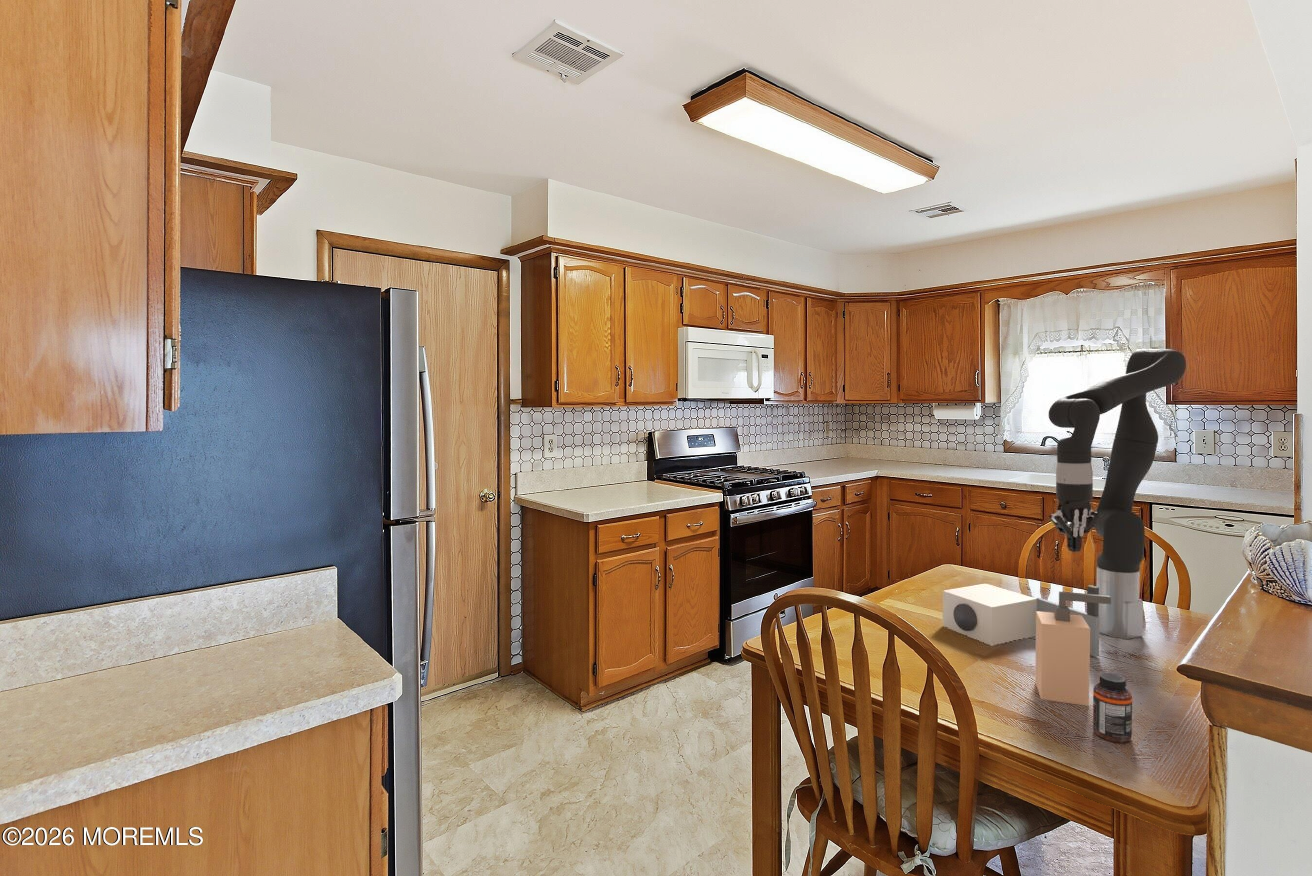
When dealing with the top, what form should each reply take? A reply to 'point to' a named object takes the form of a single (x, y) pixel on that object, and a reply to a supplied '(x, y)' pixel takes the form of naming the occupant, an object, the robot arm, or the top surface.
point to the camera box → (989, 613)
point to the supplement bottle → (1112, 708)
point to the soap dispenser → (1064, 651)
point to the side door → (1089, 617)
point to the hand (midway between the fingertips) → (1074, 551)
